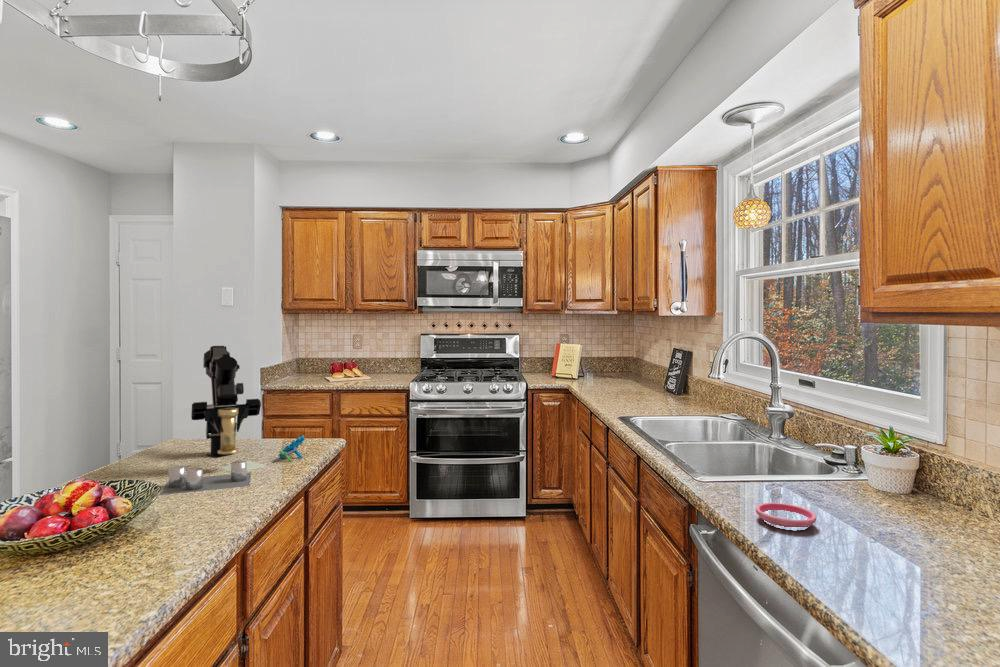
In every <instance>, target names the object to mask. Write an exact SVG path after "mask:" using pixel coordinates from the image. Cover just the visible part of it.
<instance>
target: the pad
mask: <svg viewBox="0 0 1000 667" xmlns="http://www.w3.org/2000/svg"><path fill="white" fill-rule="evenodd" d="M246 461H247V471H251V470H255V469H259V468H265V467H267V466H268V465H266V464H263V463H259V462H256V461H252V460H246ZM217 468H218V469H221V470H225V471H227V472H231V464H229V465H228V464H227V465H223V466H219V467H217Z"/></svg>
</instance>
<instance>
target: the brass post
mask: <svg viewBox="0 0 1000 667" xmlns="http://www.w3.org/2000/svg"><path fill="white" fill-rule="evenodd" d="M238 415H239V408H221V409H218V416H219V417H221V449H220V450H218V454H230V455H234V454H236V453H238V452H239V448H237V447H236V441H237V440H236V436H237V425H236V423H237V418H236V417H237V416H238ZM233 453H234V454H233Z"/></svg>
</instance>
